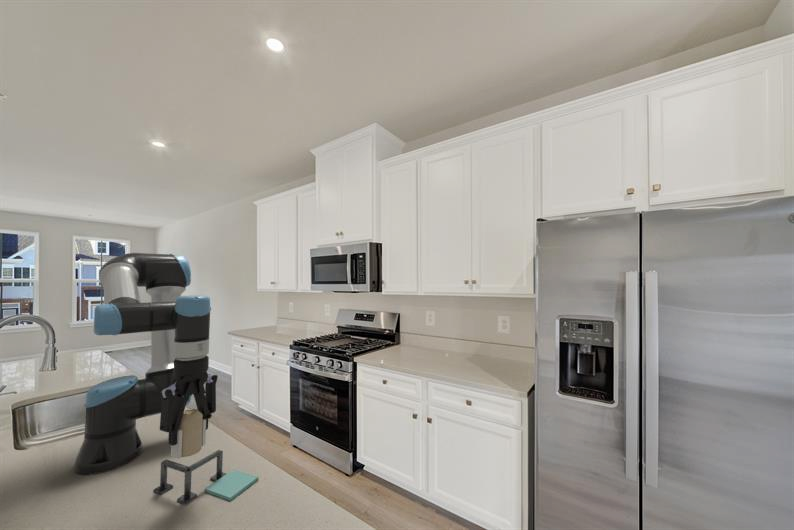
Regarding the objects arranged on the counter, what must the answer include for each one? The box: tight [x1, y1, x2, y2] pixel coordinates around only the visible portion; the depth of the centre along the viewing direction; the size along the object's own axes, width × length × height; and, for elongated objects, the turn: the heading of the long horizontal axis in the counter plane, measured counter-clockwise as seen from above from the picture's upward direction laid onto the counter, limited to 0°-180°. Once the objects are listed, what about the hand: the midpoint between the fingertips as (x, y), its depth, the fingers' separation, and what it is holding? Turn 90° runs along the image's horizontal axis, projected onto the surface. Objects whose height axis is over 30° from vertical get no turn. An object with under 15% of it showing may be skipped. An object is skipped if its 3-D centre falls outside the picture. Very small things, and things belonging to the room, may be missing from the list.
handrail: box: [152, 449, 227, 505], centre depth 86 cm, size 12×12×8 cm
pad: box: [204, 469, 259, 502], centre depth 85 cm, size 9×9×1 cm
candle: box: [179, 408, 203, 458], centre depth 81 cm, size 6×6×10 cm
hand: (188, 450), depth 81 cm, fingers closed on candle, 5 cm apart
